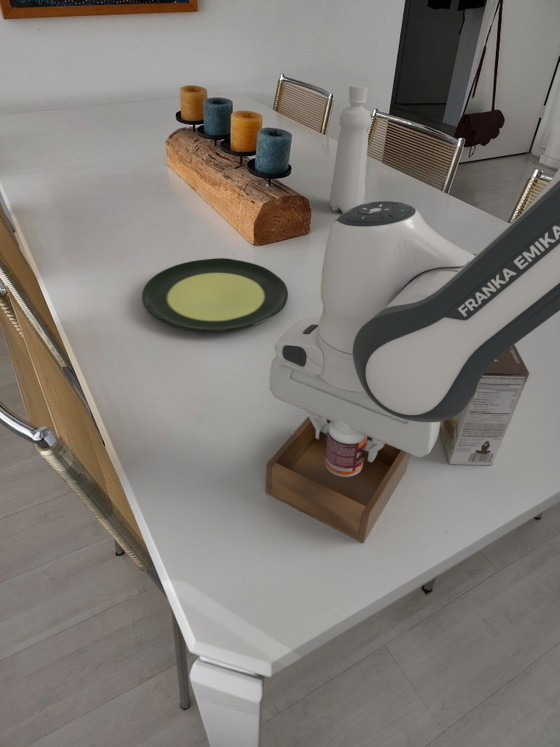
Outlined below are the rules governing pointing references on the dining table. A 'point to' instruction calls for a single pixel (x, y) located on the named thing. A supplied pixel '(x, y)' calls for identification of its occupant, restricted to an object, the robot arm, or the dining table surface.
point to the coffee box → (486, 413)
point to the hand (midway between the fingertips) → (345, 447)
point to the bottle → (351, 153)
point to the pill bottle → (344, 449)
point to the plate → (215, 295)
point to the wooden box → (333, 483)
